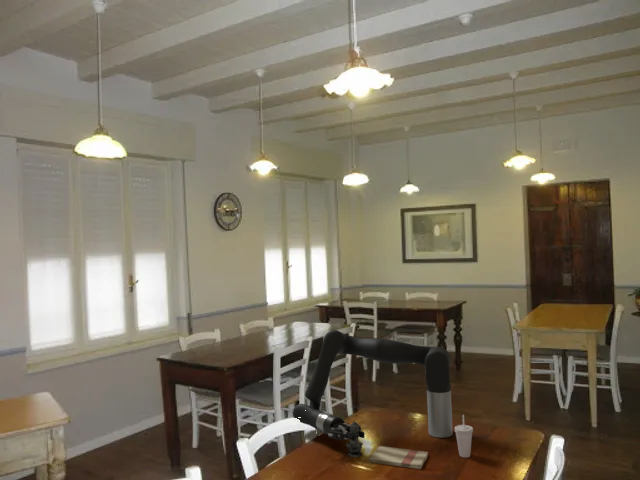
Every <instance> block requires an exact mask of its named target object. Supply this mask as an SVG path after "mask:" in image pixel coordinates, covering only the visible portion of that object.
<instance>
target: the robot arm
mask: <svg viewBox="0 0 640 480" xmlns="http://www.w3.org/2000/svg"><path fill="white" fill-rule="evenodd" d="M340 354H341V355H351V356H359V357H362V358H364V359H368V360H372V361H376V362H380V363H386V364H394V365H395V364H397V365H398V364H399V365H400V364H402V365H403V364H415V365H422V366H424V374H425V376H424V377H425V384H426V398H427V399H426V400H427V401H426V402H427V403H426V404H427V426H428V427H427V429H428V432H427V433H428V435H429V436H431V437H434V438H442V439H443V438H449V437H451V436H453V412H452V411H453V410H452V383H451V378H450V377H451V375H450V365H451V361H452V359H451V354H450V353H449V352H448V350H446V349H445V348H443V347H440V346H426V345H415V344H411V343H407V342H402V341H399V340H398V341H397V340H393V339H386V338H380V337H379V338H378V337H359V336H358V337H357V336H353V335H350V334H346V333H343V332H341V331H339V330H337V329H332V330H329V331H327V332H326V334H325V335H324V337H323V340H322V345H321V349H320V352H319V356H318V359H317V362H316V366H315V369H314V371H313V373H312V375H311V379H310V381H309V382H308V385H307V388H306V390H305V393H304V396H305V398H306V399H307V400H309V405H308V404H305V403H299V404H296V405H295V406H294V408H293V410H292V416H293V418H297V419H299V420H300V422H299V423H301V424H304V425H308V426H310V427H312V428H314V429H316V430H318V431H320V432H321V433H323V434H325V435H327V436H328V438H329V439H334V440H339V441H343V440H348V441H350V440H352V441H356V436H355V435H354V434H352V433H350V425H351V423H347V422H345V420H344V419H343V418H342V417H341V416H337V415H335V414H332V413H329V412H325V411H323V410H321V405H322V403H321V402H322V398H323V396H324V393H325V391H326V389H327V386H328V382H329V379H330V374H331V369H332V366H333V363H334V360H335V359H336V357H337V356H338V355H340ZM305 410H306V411H305ZM298 417H301V418H298ZM354 423H356V424H357V425H358V433H359V435H358V436H359V439H360V438H361V439H365V434H366V433H365V432H364V431H363V430H362V426H361V425H360V424H359V423H357V422H355V421H354Z"/></svg>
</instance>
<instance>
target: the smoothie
mask: <svg viewBox="0 0 640 480" xmlns="http://www.w3.org/2000/svg"><path fill="white" fill-rule="evenodd" d="M454 432H455V437H456V442H457V443H456V444H457V448H458V449H457V450H458V455H459V457H462V458H470V456H471V450H472V438H473V432H474V428H473V426H470V425H467V424H465V414H462V424H458V425H456V426H454Z"/></svg>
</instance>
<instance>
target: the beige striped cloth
mask: <svg viewBox="0 0 640 480" xmlns="http://www.w3.org/2000/svg"><path fill="white" fill-rule="evenodd" d="M428 457H429V451H423V450H418V449H417V450H416V449H415V450H414V449H408V448H407V449H406V448H397V447H391V446H383V445H379V446H378V447H377V448H376V449H375V451H374V452H373V453H372V455H370V457H369V458H368V463H374V464H380V465H388V466H393V467H394V466H396V467H403V468H410V469H416V470H421V469H422V468H423V465H424V464H425V462H426V460H427V459H428Z"/></svg>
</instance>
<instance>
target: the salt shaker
mask: <svg viewBox="0 0 640 480" xmlns="http://www.w3.org/2000/svg"><path fill="white" fill-rule="evenodd" d="M354 422H355V420H353V421H352V423H350V433H352V434H354V435H355V436H356V441H352V440H349V442H347V443H346V446H347V450H348V451H349V452H347V456H348V457H351V458H358V457H361V456H363V452H362V451H361V450H362V448H363V445H364V444H363V442H361V441H360V440H359V439H360V437H359V436H358V435H359V433H358V425H357V424H356V423H357V422H356V423H354Z"/></svg>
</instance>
